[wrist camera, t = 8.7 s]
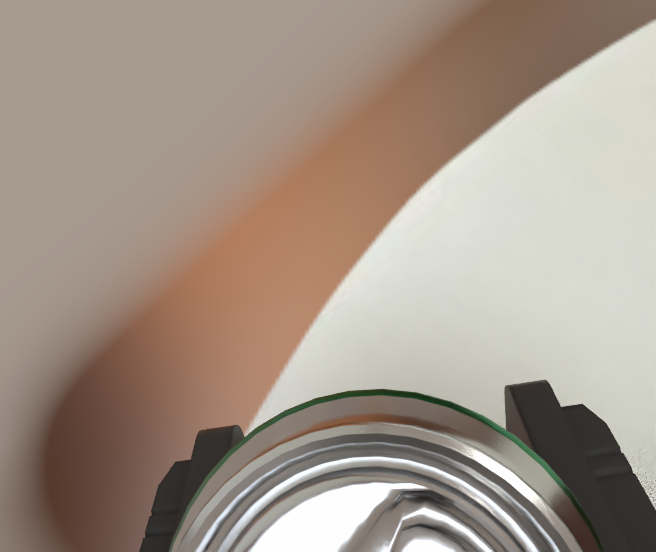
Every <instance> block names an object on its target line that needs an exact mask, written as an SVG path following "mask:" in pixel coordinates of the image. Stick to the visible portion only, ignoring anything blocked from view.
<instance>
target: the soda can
mask: <svg viewBox="0 0 656 552" xmlns="http://www.w3.org/2000/svg"><path fill="white" fill-rule="evenodd" d="M169 552H606V551H605V549H604V547H603V545H602V543H601V541H600V539H599V536H598V534H597V532H596V530H595V528H594V526H593V524H592V523H591V521H590V519H589V518H588V516H587V515H586V513H585V512H584V510H583V509H582V507H581V506H580V504H579V503H578V501H577V500H576V498H575V497H574V495H573V493H572V492H571V490H570V489H569V488H568V487H567V486H566V485H565V484H564V483H563V481H562V480H561V479H560V478H559V477H558V476H557V475H556V473H555V472H554V471H553V470H552V469H551V468H550V467H549V465H548V464H547V463H546V462H545V461H544V460H543V459H542V458H541V457H539V456H538V455H537V454H536V453H535V452H534V451H532V450H531V449H530V448H529V447H528V446H527V445H525V444H524V443H523V442H522V441H521V440H520V439H518V438H517V437H516V436H515V435H513V434H512V433H510V432H508V431H507V430H505V429H504V428H502V427H500V426H499V425H497V424H496V423H494V422H493V421H491V420H489V419H488V418H486V417H485V416H483V415H481V414H478V413H476V412H474V411H471V410H469V409H467V408H464V407H462V406H460V405H458V404H455V403H453V402H451V401H447V400H443V399H439V398H436V397H432V396H428V395H424V394H421V393H417V392H407V391H397V390H388V389H373V390H356V391H346V392H342V393H337V394H333V395H328V396H324V397H319V398H315V399H313V400H310V401H308V402H305V403H303V404H300V405H298V406H295V407H293V408H290V409H288V410H285V411H283V412H282V413H280V414H278V415H277V416H275V417H273V418H272V419H270V420H268V421H267V422H265V423H263V424H262V425H260V426H258V427H257V428H255V429H254V430H253V431H252V432H251V433H249V434H248V435H247V436H246V437H245V438H243V439H242V440H241V441H240V442H239V443H237V444H236V445H235V446H234V447H233V448H231V449H230V450H229V451H228V452H227V454H226V455H225V456H224V457H223V458H222V459H221V460H220V461H219V463H218V464H217V465H216V466H215V467H214V468H213V469H212V471H211V472H210V473H209V474H208V475H207V476H206V478H205V480H204V481H203V483H202V484H201V486H200V487H199V489H198V490H197V492H196V493H195V495H194V496H193V498H192V500H191V501H190V503H189V504H188V506H187V508H186V510H185V512H184V515H183V517H182V519H181V521H180V523H179V525H178V528H177V530H176V532H175V534H174V536H173V539H172V542H171V545H170V549H169Z"/></svg>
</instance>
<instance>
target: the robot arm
mask: <svg viewBox="0 0 656 552" xmlns="http://www.w3.org/2000/svg"><path fill="white" fill-rule="evenodd" d="M505 413H506V430H507V431H508V432H510V433H512V434H513V435H515V436H516V437H517V438H518V439H520V440H521V441H522V442H523V443H524V444H525V445H527V446H528V447H529V448H530V449H531V450H532V451H534V452H535V453H536V454H537V455H538V456H539V457H541V458H542V459H543V460H544V461H545V462H546V463H547V464H548V465H549V467H550V468H551V469H552V470H553V471H554V472H555V473H556V475H557V476H558V477H559V478H560V479H561V480H562V481H563V483H564V484H565V485H566V486H567V487H568V488H569V489H570V490H571V492H572V493H573V495H574V497H575V498H576V500H577V501H578V503H579V504H580V506H581V507H582V509H583V510H584V512H585V513H586V515H587V516H588V518H589V519H590V521H591V523H592V524H593V526H594V528H595V530H596V532H597V534H598V536H599V539H600V541H601V543H602V545H603V547H604V549H605V551H606V552H656V510H655V508H654V507H653V505H652V503H651V501H650V499H649V498H648V496H647V494H646V492H645V491H644V489H643V487H642V485H641V484H640V482H639V480H638V478H637V477H636V475H635V474H633V472H632V468H631V466H630V464H629V462H628V461H627V459H626V457H625V455H624V454H623V453H621V450H620V447H619V445H618V443H617V441H616V440H615V438H614V436H613V434H612V432H611V431H610V429H609V427H608V425H607V424H606V423H605V422H604V421H603V420H602V419H600V418H599V417H598V416H597V415H595V414H594V413H593V412H592V411H591V410H589V409H588V408H587V407H586V406H584V405H583V404H579V405H572V406H565V407H561V406H560V404H559V402H558V400H557V398H556V396H555V394H554V392H553V390H552V388H551V386H550V384H549V383H548V381H547V380H540V381H534V382H527V383H520V384H513V385H507V386H505ZM243 438H245V437H244V435H243V432H242V430H241V428H240V427H239V426H238V425H233V426H226V427H220V428H213V429H206V430H201V431H199V432H198V434H197V437H196V440H195V445H194V449H193V453H192V457H191V460H185V461H179V462H175V463H174V465H173V466H172V467H171V469H170V470H169V472H168V473H167V474H166V476H165V477H164V479H163V480H162V482H161V483H160V484H159V486H158V489H157V493H156V496H155V500H154V503H153V507H152V510H151V512H152V516H150V517H149V521H148V524H147V527H146V531H145V535H146V536H145V538H143V541H142V545H141V548H140V551H139V552H169V549H170V545H171V542H172V539H173V536H174V534H175V532H176V530H177V528H178V525H179V523H180V521H181V519H182V517H183V515H184V512H185V510H186V508H187V506H188V504H189V503H190V501H191V500H192V498H193V496H194V495H195V493H196V492H197V490H198V489H199V487H200V486H201V484H202V483H203V481H204V480H205V478H206V476H207V475H208V474H209V473H210V472H211V471H212V469H213V468H214V467H215V466H216V465H217V464H218V463H219V461H220V460H221V459H222V458H223V457H224V456H225V455H226V454H227V452H228V451H229V450H230V449H231V448H233V447H234V446H235V445H236V444H237V443H239V442H240V441H241V440H242V439H243Z"/></svg>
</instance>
